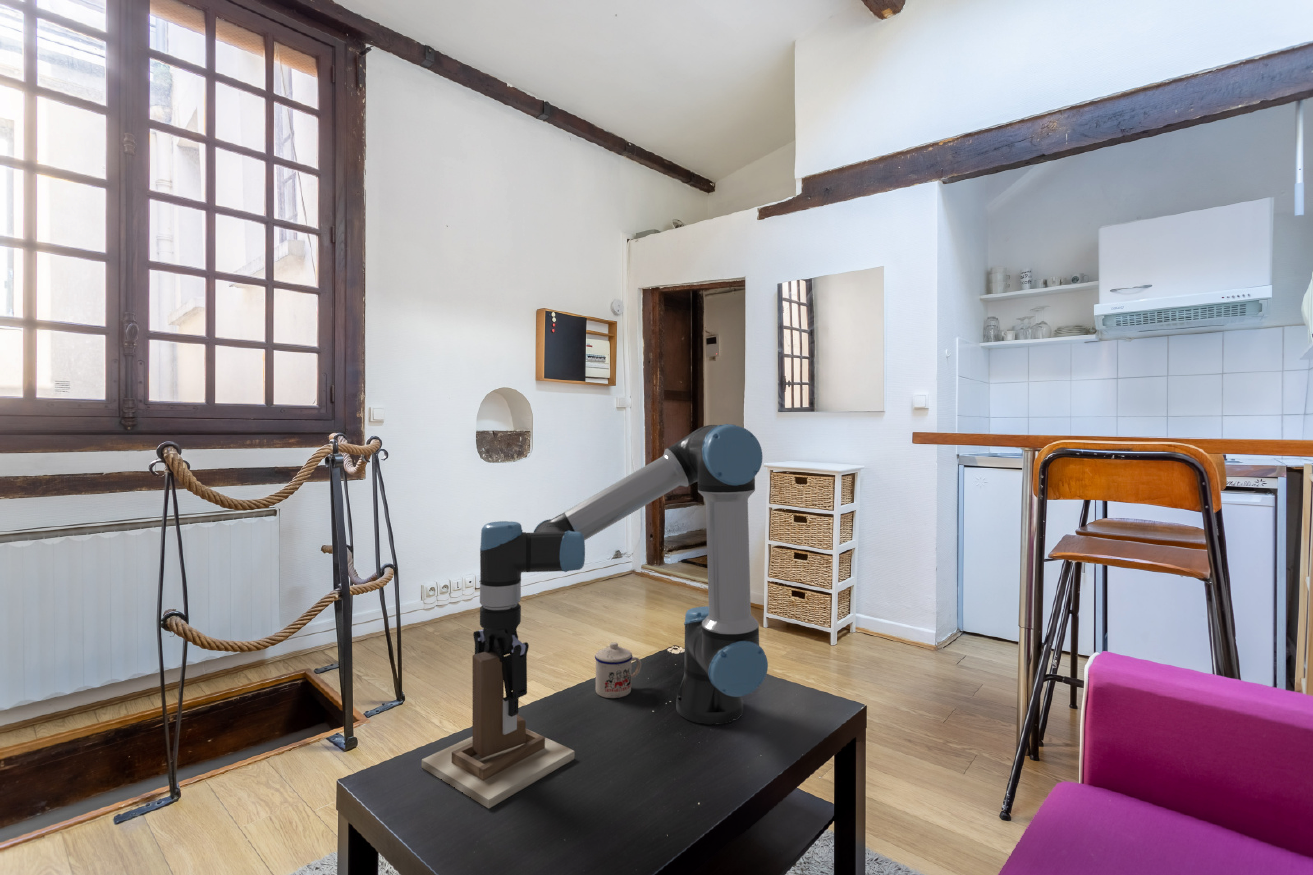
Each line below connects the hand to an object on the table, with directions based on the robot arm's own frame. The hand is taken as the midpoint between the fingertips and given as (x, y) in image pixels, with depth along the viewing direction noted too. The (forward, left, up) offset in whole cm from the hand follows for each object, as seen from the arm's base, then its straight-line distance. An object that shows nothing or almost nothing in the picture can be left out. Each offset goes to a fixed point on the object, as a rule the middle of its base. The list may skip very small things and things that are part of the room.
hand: (499, 726), depth 116 cm
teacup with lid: (+4, -39, -7) cm, 40 cm away
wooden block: (0, 0, -4) cm, 4 cm away
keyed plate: (0, 0, -7) cm, 7 cm away
